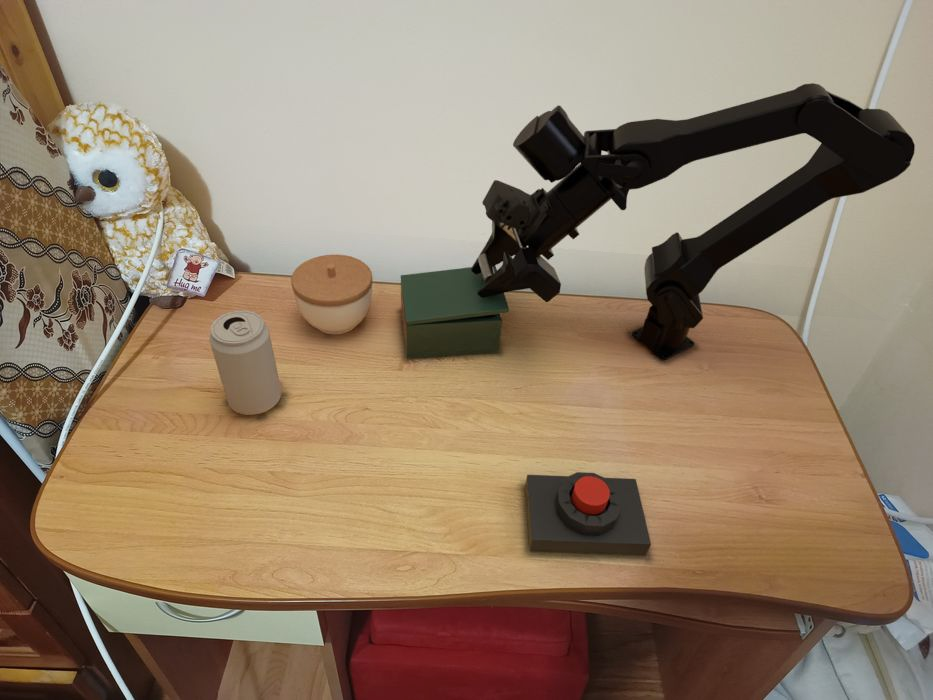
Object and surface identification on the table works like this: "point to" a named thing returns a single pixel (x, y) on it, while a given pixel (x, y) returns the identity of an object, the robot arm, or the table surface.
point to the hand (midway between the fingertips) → (476, 283)
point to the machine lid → (450, 294)
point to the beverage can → (245, 362)
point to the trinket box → (333, 292)
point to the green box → (452, 336)
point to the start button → (590, 495)
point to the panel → (584, 518)
